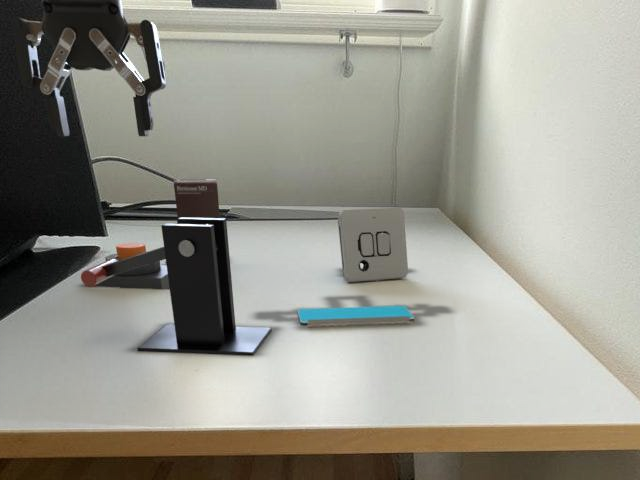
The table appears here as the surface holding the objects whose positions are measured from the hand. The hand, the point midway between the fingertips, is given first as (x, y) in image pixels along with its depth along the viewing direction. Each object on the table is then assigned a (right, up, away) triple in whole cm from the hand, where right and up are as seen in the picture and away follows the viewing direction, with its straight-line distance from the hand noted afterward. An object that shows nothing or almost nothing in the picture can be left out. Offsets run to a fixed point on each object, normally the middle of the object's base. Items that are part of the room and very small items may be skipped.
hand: (103, 136), depth 72 cm
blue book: (+27, -20, +3) cm, 34 cm away
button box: (-2, -12, +15) cm, 20 cm away
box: (+5, -6, +26) cm, 28 cm away
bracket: (+13, -25, -7) cm, 29 cm away
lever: (+9, -18, -10) cm, 22 cm away
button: (-2, -9, +14) cm, 16 cm away
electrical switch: (+29, -9, +22) cm, 38 cm away
